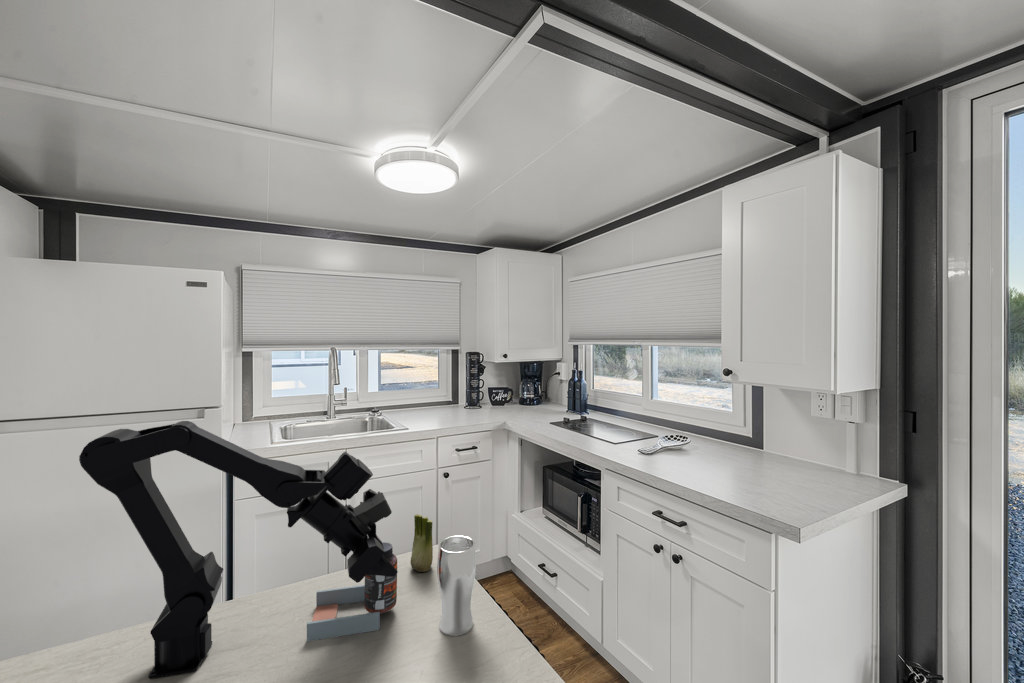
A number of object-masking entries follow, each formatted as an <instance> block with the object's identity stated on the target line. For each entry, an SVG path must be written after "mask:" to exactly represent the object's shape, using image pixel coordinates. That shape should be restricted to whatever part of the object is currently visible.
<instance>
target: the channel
mask: <svg viewBox="0 0 1024 683" xmlns="http://www.w3.org/2000/svg"><path fill="white" fill-rule="evenodd" d="M364 592H365V584H360V585H353V586H344V587H338V588H337V587H336V588H330V589H323V590H317V591H316V598H315V599H316V604H315V605H316V606H315V609H314V612H313V616H312V619H311V621H308V622H306V642H311V641H317V640H322V639H323V640H324V639H330V638H337V637H343V636H350V635H356V634H362V633H368V632H373V631H374V632H375V631H380V625H381V623H380V620H381V619H380V615H381V614H380V612H374V613H369V612H368V613H363V614H362V613H361V614H360V613H359V614H354V615H348V616H341V617H340V616H339V617H337V614H338V613H337V612H338V610H339V605H347V604H353V603H363V602H364Z"/></svg>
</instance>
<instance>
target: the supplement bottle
mask: <svg viewBox="0 0 1024 683" xmlns="http://www.w3.org/2000/svg"><path fill="white" fill-rule="evenodd" d="M382 544H383V547H384V556H385V557H386V558H387V559H388V560H389V561H390V563H391V564H392V565H393V566H394V567H395V569H396V570H397V571H398V558H397V556H396V554H394V553H393V545H392V543H390V542H385V541H384V542H382ZM364 585H365V592H364V601H363V603H364V604H363V605H364V606H363V607H364V609H365V610H366V612H368V613H374V612H380V615H381V614H385V613H387V612H389V611H391V610H392V609H394V607H395V606H396V604H397V599H398V598H397V597H398V596H397V595H398V594H397V592H398V573H397V574H396V575H395V576H394V577H390V576H379V575H365V577H364Z"/></svg>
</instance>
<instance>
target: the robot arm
mask: <svg viewBox="0 0 1024 683" xmlns="http://www.w3.org/2000/svg"><path fill="white" fill-rule="evenodd" d="M173 451H176V452H179V453H182V454H184V455H186V456H188V457H190V458H192V459H194V460H197V461H199V462H201V463H204V464H206V465H208V466H210V467H212V468H214V469H217V470H219V471H222V472H224V473H225V474H228V475H230V476H233V477H234V478H237V479H239V480H241V481H243V482H245V483H247V484H248V485H250V486H251V487H252V488H253V489H254V490H255V491H256V492H257V493H258V494H259V495H260V496H262V498H264V499H265V500H267V501H268V502H270V503H271V504H273V506H276V507H278V508H283V509H287V510H286V514H287V517H288V518H287V521H288V522H287V527H288V528H292V527H294V525H295V524H296V523H297V522H298V521H299V520H302V521H303V522H305V523H306V524H308V525H309V526H310V527H311V528H313V529H314V530H316V531H317V532H318V533H319V534H321V535H322V537H323V541H324V542H325V543H327V544H329V543H330V542H331V543H332V544H334V545H335V546H336V547H338V548H339V549H340V552H341V555H343V556H344V557H347V556H348V555H349V553H350V552H352V554H351V555H350V556H349V557H348V558H347V565H346V566H347V573H348V577H349V579H351V580H353V581H354V582H355V583H360V582H361V581H363V579H365V575H379V576H390V577H394V576H395V575H396V574H397V575H398V572H399V571H398V569H397V570H396V569H395V567H394V566H393V565H392V564H391V563H390V561H389V560H388V559H387V558H386V557H385V556H384V547H383V544H382V540H381V539H380V538H379V536H378V535H377V525H376V523H378V522H379V521H381V520H382V519H384V518H388V517H389V516H390V515H391V514H392V512H393V511H392V509H391V507H390V504H389V502H388V501H387V499H386V497H385V495H384V493H383V492H380V491H378V492H376V491H374V490H373V489H371V488H369V489H367V490H364V492H363V495H362V501H360V502H359V504H358V505H357V506H355V507H353V505H351V504H345V505H344V504H343V503H341V502H340V501H342V500H343V501H346V500H351V499H352V498H353V497H354V496H355V495H356V494H357V493H358V492H359V491H360V490H361V488H363V486H365V484H366V483H367V482H369V480H370V479H371V478H372V477H374V476H373V475H374V474H373V472H372V470H370V468H369V467H368V466H367V465H366V464H365V463H364V462H363V461H361V459H359V458H356V457H355V456H353V455H351V454H349V453H348V452H347V451H343V453H341V454H340V455H339V457H337V460H336V461H335V462H334V463H333V464H332V465H331V466H330V467H329V468H328V469H326V471H325V470H324V469H305V468H303V467H302V466H301V465H298V464H293V463H291V462H287V461H283V460H278V459H270V458H266V457H262V456H260V455H258V454H255V453H254V452H252V451H249V450H248V449H245V448H243V447H242V446H239V445H237V444H235V443H233V442H231V441H229V440H226V439H224V438H223V437H220V436H218V435H216V434H214V433H212V432H209V431H208V430H205V429H203V428H201V427H200V426H197V425H196V423H194V422H192V421H189V420H182V421H181V420H180V421H178V422H176V423H172V424H167V425H161V426H154V427H149V428H145V429H140V430H134V429H129V428H119V429H115V430H112V431H110V432H107V433H105V434H103V435H101V436H99V437H97V438H94V439H92V440H91V441H89V442H88V443H86V445H85V446H84V447H83V448H82V451H81V453H80V455H79V456H78V457H79V459H78V460H79V464H80V466H81V468H82V470H84V471H85V472H86V474H87V475H88V476H89V477H90V478H91V479H92V480H93V481H94V482H95V483H96V484H97V485H98V486H99V487H102V488H103V489H105V490H107V491H108V492H110V493H111V494H113V495H114V496H115V497H117V499H118V500H119V502H120V504H121V505H122V507H123V509H124V511H125V512H126V514H127V516H128V517H129V519H130V520H131V523H132V524H133V526H134V527H135V529H136V531H137V533H138V535H139V536H140V538H141V540H142V541H143V543H144V544H145V546H146V547H147V549H148V551H149V553H150V555H151V556H152V557H153V560H154V561H155V564H157V566H158V568H159V569H160V571H161V575H162V582H163V584H162V585H163V595H164V600H165V603H166V604H165V606H164V607H163V609H162V611H161V612H160V614H159V616H158V617H157V619H156V621H155V623H154V625H153V626H152V627H151V630H150V631H149V632H150V635H151V637H152V639H153V641H154V645H153V646H154V654H153V655H154V660H153V661H154V666H153V668H152V669H151V671H149V674H148V679H155V678H161V677H167V676H173V675H180V674H187V673H192V672H195V671H197V670H198V669H199V667H200V666H201V664H202V662H203V661H204V659H205V658H206V657H207V655H208V654H209V651H211V649H212V645H213V641H212V623H211V622H209V613H210V611H211V609H212V607H213V606H214V602H215V600H216V598H217V596H218V592H219V590H220V588H221V585H222V580H223V577H222V574H223V572H224V568H223V567H221V566H220V565H219V563H218V562H217V560H216V556H215V553H214V552H213V551H210V552H208V553H206V555H204V556H203V555H202V554H200V553H198V552H196V551H195V550H194V549H193V546H192V544H190V542H189V539H188V538H187V537H186V535H185V532H183V528H182V527H181V525H180V524H179V523H178V520H177V519H176V517H175V515H174V513H173V512H172V510H171V509H170V507H169V504H168V503H167V501H166V500H165V498H164V495H163V494H162V492H161V491H160V489H159V487H158V486H157V483H156V482H155V480H154V478H153V476H152V463H151V462H152V460H151V458H154V457H156V456H160V455H163V454H166V453H170V452H173ZM339 500H340V501H339Z"/></svg>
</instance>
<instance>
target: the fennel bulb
mask: <svg viewBox="0 0 1024 683" xmlns="http://www.w3.org/2000/svg"><path fill="white" fill-rule="evenodd" d="M413 517H414V520H413V521H414V536H413V542H412V550H411V556H410V566H411V568H412V569H413V570H414V571H416V572H418V573H423V572H424V573H425V572H428V571H430V570H431V567H432V564H433V557H434V556H433V553H434V552H433V551H434V549H433V548H434V546H433V520H432V519H431V520H430V519H429V517H428V516H427V517H425V516H424V517H423V515H421V514H415V515H414V516H413Z"/></svg>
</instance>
